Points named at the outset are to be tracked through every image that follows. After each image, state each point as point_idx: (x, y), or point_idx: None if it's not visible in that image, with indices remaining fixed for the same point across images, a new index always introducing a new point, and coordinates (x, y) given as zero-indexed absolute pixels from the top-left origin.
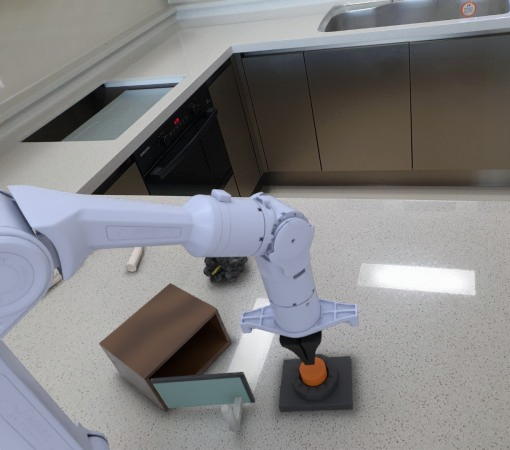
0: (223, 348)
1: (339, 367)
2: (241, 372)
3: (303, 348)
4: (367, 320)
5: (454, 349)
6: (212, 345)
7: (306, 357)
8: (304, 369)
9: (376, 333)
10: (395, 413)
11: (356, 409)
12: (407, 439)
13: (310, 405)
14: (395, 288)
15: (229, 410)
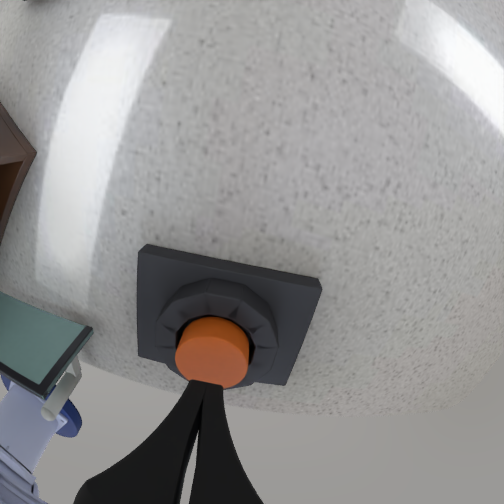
0: (21, 174)
1: (284, 312)
2: (39, 395)
3: (184, 473)
4: (397, 164)
5: (485, 294)
6: (4, 168)
7: (193, 444)
8: (188, 363)
9: (402, 214)
10: (350, 385)
11: (290, 373)
12: (345, 412)
13: None
14: (472, 100)
15: (55, 418)
